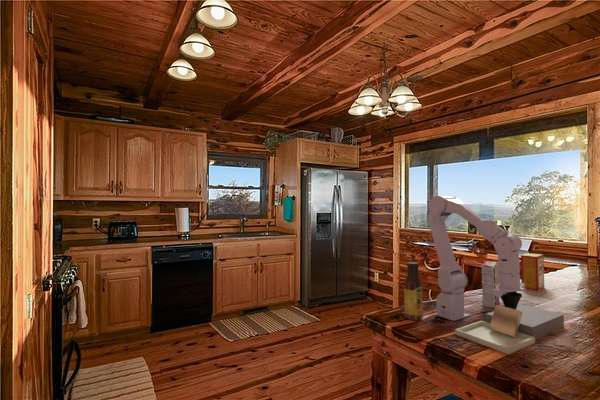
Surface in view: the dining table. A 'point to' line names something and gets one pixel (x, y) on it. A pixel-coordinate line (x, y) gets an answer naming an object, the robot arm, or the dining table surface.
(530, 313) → the grey flat block
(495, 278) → the candy bar box
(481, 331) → the tray
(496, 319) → the tile
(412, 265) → the sauce bottle
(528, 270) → the baking soda box
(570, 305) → the dining table surface
